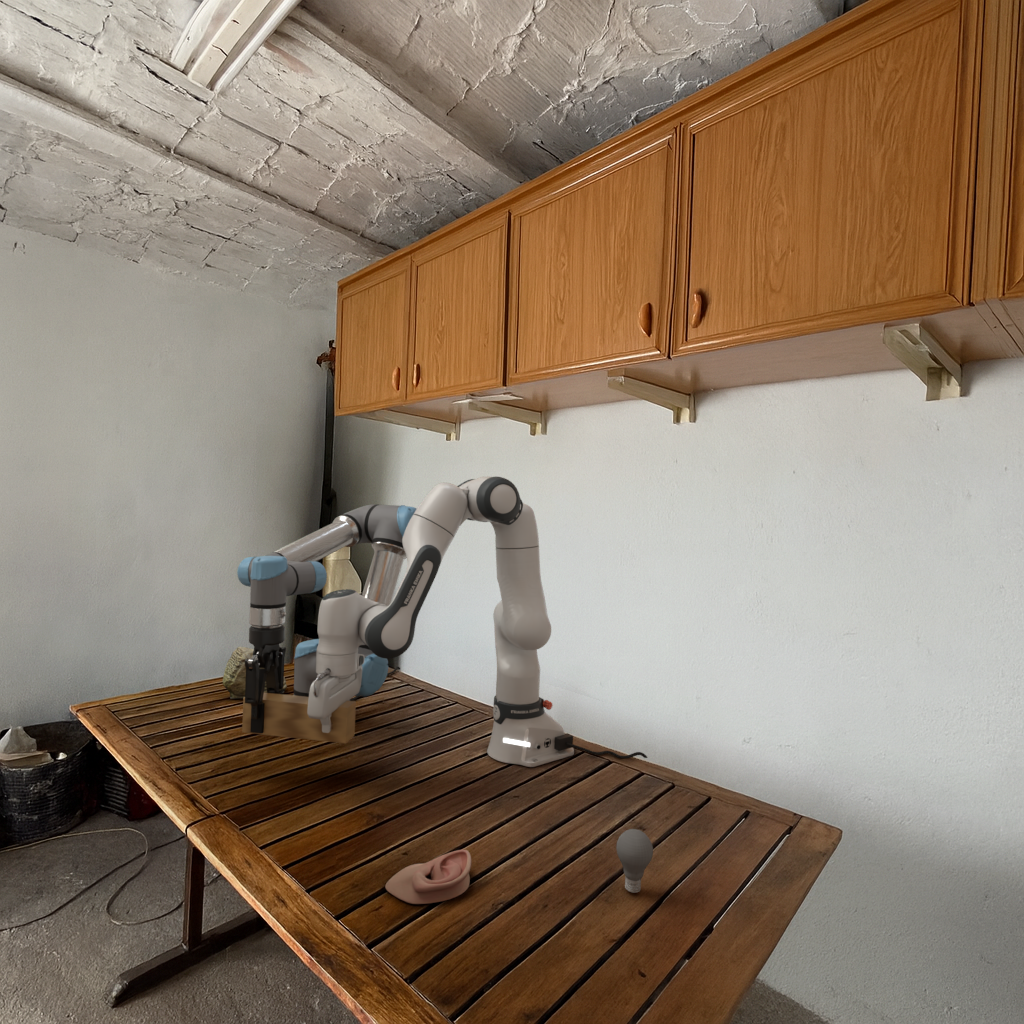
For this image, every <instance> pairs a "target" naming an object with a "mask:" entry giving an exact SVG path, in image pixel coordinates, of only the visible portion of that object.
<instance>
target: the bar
mask: <svg viewBox="0 0 1024 1024" xmlns="http://www.w3.org/2000/svg"><path fill="white" fill-rule="evenodd" d="M308 699H309V697H305V696H294V694H284V693H282V694H274V693H264V695H263V701H262V703H265V707H264V732H263V733H253V732H250V731H251V704H248V703H245V697H244V698H242V701H243V702H242V723H241V733H244V734H252V735H263V736H272V737H282V738H290V739H301V740H307V741H308V740H310V741H318V742H328V743H338V744H347V743H349V741H350V740H352V739H353V738H354V737H355V731H356V709H357V708H356V706H357V702H356V700H353V701H346V702H345V703H343V704H342V705H341V706H339V707H338V709H336V710H335V711H334V712H332V715H331V717H330V719H331V723H333V726H332V730H331V731H330V732H329V733H323V732H322V723H321V721H320V719H312V718H309V716H308V714H307V710H308Z"/></svg>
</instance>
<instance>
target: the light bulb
mask: <svg viewBox="0 0 1024 1024" xmlns="http://www.w3.org/2000/svg"><path fill="white" fill-rule="evenodd" d="M615 849H616V854H617V857H618V859H619V861H620V863H621V865H622V867H623V873H624V874H623V875H624V876H625V878H624V888H625V890H627V891H628V892H630V893H634V894H635V893H639V892H640V891H641V889H642V887H641V886H642V879H643V877H644V875H645V871H646V868H647V867H648V866H649V864H650V863H651V861H652V859H653V855H654V847H653V843H652V841H651V838H649V836H648V835H647V834H646V833H645V832H643V831H642V830H641V829H636V828H629V829H627V830H625V831H623V832H622V833H621V834H620V835H619V837H618V839H617V841H616V847H615Z"/></svg>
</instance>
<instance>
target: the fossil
mask: <svg viewBox="0 0 1024 1024" xmlns="http://www.w3.org/2000/svg"><path fill="white" fill-rule="evenodd" d="M253 651H254V648H251V647H247V646H246V647H245V646H238V647H237V648H236V649H235V650H233V651H232V653H231V656H230V657H229V659H228V660H227V663H226V666H225V668H224V671H223V675H222V676H223V677H222V685H223V687H224V688H225V690H226V691H228V693H229V698H230V699H243V698H244V697H245V683H246V667H245V660H246V659H251V658H252V657H253ZM261 669H264V668H261ZM287 687H288V686H287V680H286V678H285V676H284V683H283V689H282V690H279V691H282V694H284V693H285V691H286V689H287ZM264 693H267V687H266V682H265V688H264Z"/></svg>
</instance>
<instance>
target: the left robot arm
mask: <svg viewBox="0 0 1024 1024" xmlns="http://www.w3.org/2000/svg"><path fill="white" fill-rule="evenodd" d="M416 509H417V507H414V506H410V505H409V506H408V505H405V504H401V505H397V504H377V503H372V504H371V503H370V504H367V505H362V506H360V507H357V508H354V509H352V510H350V511H347V512H345V513H342V514H340V515H339V516H337V517H335V518H334V520H333V521H332V523H330V524H327V525H325V526H323V527H322V528H319V529H317V530H316V531H313V532H311V533H309V534H307V535H305V536H303V537H301V538H298V539H297V540H295V541H292V542H290V543H288V544H286V545H284V546H282V547H280V548H278V549H276V550H274V551H272V552H270V553H267V554H265V555H258V556H248V557H244V558H243V559H242V560H241V561H240V562H239V565H238V566H237V571H236V572H237V573H236V575H237V579H238V581H239V582H240V584H241V585H243V586H246V587H250V598H249V599H250V601H249V621H248V623H249V624H250V626H249V628H248V643H249V644H251V645H253V649H254V651H253V657H252V658H251V659H246V660H245V667H246V683H245V703H248V704H251V731H250V732H253V733H263V732H264V707H265V703H262V701H263V695H264V688H265V682H266V687H267V693H274V694H283V693H282V691H279V690H282V689H283V683H284V677H285V656H286V652H287V647H286V646H281V645H280V644H282V643H284V642H285V637H286V626H285V625H284V624H285V623H286V616H287V611H286V606H287V597H289V596H297V595H304V594H312V593H316V592H320V590H322V589H323V588H324V587H325V586H326V583H327V578H328V574H327V570H326V568H325V566H324V565H323V564H322V563H321V562H319V561H320V560H322V559H324V558H326V557H328V556H331V554H334V553H335V552H337V551H340V550H341V549H343V548H353V547H354V546H356V545H360V544H371V548H372V549H373V551H374V553H373V556H372V560H371V563H370V567H369V570H368V573H367V576H366V581H365V584H364V587H363V591H362V594H361V595H362V596H363V597H365V598H367V599H370V600H372V601H375V602H378V603H382V604H384V605H387V606H389V605H390V603H391V602H392V600H393V598H394V596H395V594H396V591H397V586H398V583H399V579H400V576H401V572H402V568H403V565H404V561H405V560H407V556H406V553H405V551H404V548H403V543H402V538H403V535H404V532H405V530H406V527H407V525H408V523H409V521H410V519H411V518H412V516H413V514H414V512H415V511H416ZM318 643H319V638H313V639H308V640H304V641H302V642H299V643H298V644H297V645H296V647H295V652H294V653H295V654H294V657H293V659H294V660H293V662H294V663H293V665H294V666H293V695H294V696H305V697H309V691H310V687H311V684H312V683H313V681H315V680H316V678H317V675H318V674H317V673H316V654H317V646H318ZM358 654H363V655H364V656H365V659H364V664H362V680H361V687H360V690H359V693H358V694H356V695H355V696H354V697H352V698H351V699H350V701H356V700H357V699H359V698H360V697H370V696H372V695H374V694H376V692H377V691H379V690H380V689H381V687H382V686H383V685H384V683H385V681H386V679H387V677H388V676H389V675H393V674H395V672H396V671H397V670H401V668H400V666H396V667H395V668H394V669H393V670H392V671H390V672H389V665H388V664H389V660H388V659H386V658H381V657H378V656H377V655H375V654H374V653H373V652H372V651H371V650H370V648H369V647H368V646H367V645H360V646H359V647H358ZM261 668H264V669H261Z"/></svg>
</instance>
